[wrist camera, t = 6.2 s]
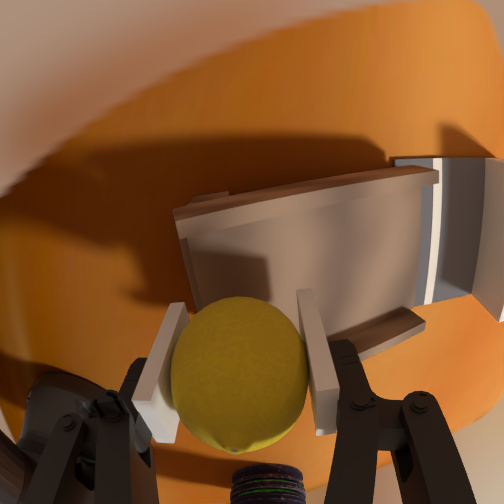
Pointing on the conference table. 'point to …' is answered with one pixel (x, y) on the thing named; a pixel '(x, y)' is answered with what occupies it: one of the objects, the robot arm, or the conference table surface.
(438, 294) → the lane mat
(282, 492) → the dark blue upright cylinder
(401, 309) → the ramp
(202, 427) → the lemon
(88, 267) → the conference table surface
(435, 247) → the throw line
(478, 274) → the rail
